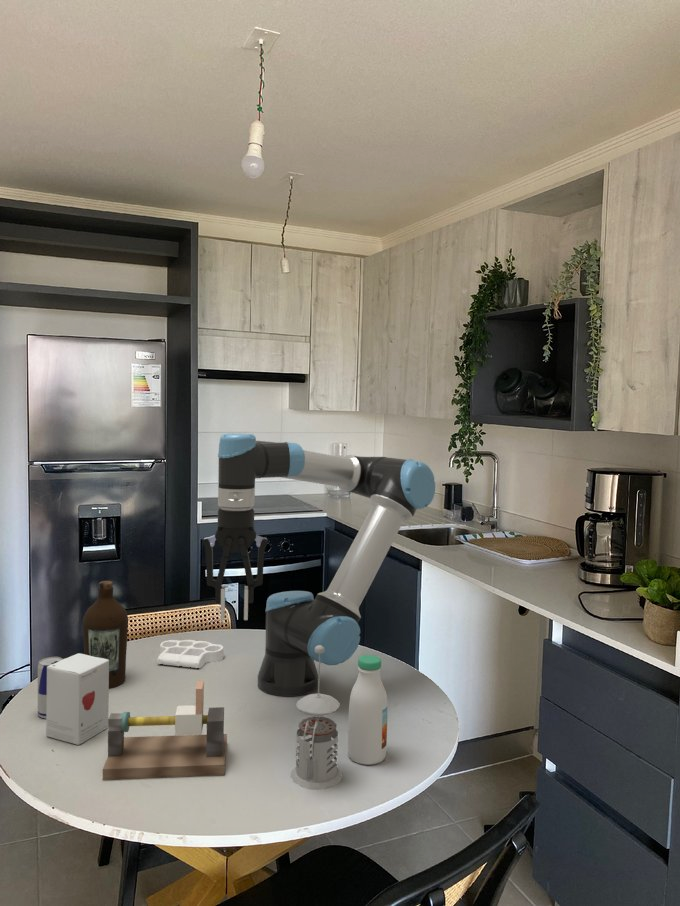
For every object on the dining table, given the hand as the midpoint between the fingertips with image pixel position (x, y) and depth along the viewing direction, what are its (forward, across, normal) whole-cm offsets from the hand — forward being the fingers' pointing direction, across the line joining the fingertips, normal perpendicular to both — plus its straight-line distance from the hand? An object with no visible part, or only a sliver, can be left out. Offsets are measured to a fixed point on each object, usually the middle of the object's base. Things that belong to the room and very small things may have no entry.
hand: (234, 617), depth 143 cm
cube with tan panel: (+19, -8, -11) cm, 23 cm away
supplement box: (+25, -32, +2) cm, 41 cm away
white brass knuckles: (+25, -13, +43) cm, 52 cm away
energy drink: (+25, -40, +11) cm, 48 cm away
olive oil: (+25, -32, +28) cm, 49 cm away
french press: (+25, +16, -19) cm, 35 cm away
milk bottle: (+25, +27, -12) cm, 39 cm away
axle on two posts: (+25, -12, -11) cm, 30 cm away
